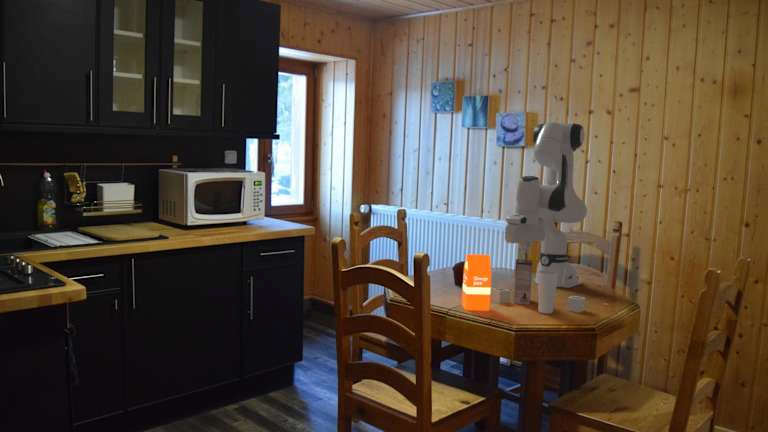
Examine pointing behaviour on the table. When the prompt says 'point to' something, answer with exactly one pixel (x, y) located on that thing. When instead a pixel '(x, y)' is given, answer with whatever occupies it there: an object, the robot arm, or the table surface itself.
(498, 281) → the table surface
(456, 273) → the muffin
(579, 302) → the digit block offwhite
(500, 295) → the digit block sage
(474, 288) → the orange juice
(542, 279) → the drinking glass
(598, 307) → the table surface
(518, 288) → the coffee box
